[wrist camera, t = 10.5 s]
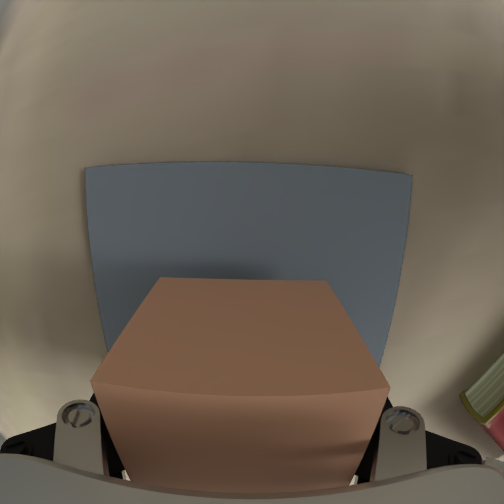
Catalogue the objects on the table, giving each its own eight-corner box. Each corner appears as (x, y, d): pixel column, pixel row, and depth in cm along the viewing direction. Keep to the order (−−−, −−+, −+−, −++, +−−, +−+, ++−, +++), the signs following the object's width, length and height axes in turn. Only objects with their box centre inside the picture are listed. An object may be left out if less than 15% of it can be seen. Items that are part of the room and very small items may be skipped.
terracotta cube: (326, 280, 11) (390, 387, 5) (308, 403, 13) (332, 514, 7) (160, 277, 11) (90, 380, 5) (175, 400, 13) (146, 510, 7)
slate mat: (406, 174, 12) (412, 174, 12) (359, 415, 16) (361, 422, 16) (91, 167, 12) (85, 167, 12) (128, 411, 16) (126, 417, 16)
